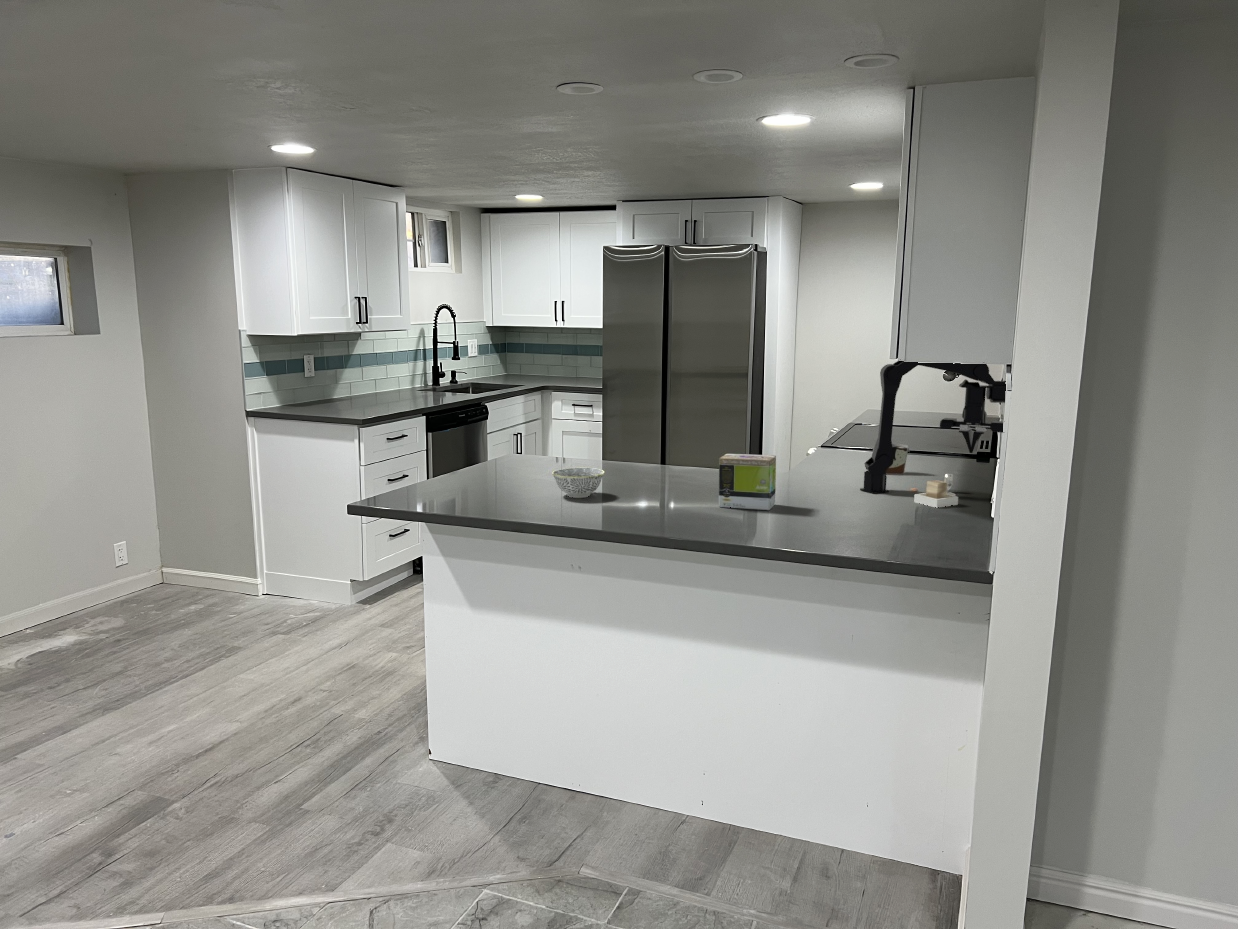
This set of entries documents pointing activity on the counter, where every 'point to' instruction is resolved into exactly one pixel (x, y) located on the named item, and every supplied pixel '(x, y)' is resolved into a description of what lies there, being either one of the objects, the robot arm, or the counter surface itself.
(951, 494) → the crank base
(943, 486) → the block
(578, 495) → the bowl
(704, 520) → the counter surface
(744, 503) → the tea box
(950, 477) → the crank
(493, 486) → the counter surface
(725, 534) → the counter surface
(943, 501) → the tray
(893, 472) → the food container
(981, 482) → the counter surface
